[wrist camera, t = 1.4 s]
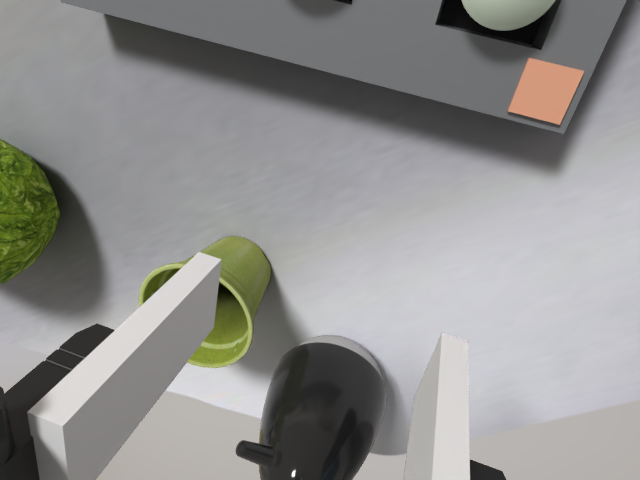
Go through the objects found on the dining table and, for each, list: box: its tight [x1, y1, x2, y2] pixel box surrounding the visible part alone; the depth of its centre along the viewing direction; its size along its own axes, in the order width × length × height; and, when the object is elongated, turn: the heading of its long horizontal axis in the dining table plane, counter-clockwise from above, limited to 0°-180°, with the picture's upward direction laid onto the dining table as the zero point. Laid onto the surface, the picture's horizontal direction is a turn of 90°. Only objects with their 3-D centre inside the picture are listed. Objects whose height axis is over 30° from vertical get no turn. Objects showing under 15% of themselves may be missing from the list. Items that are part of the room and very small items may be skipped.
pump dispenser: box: [236, 335, 387, 480], centre depth 38 cm, size 10×10×15 cm
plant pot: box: [139, 236, 271, 368], centre depth 39 cm, size 9×9×9 cm
